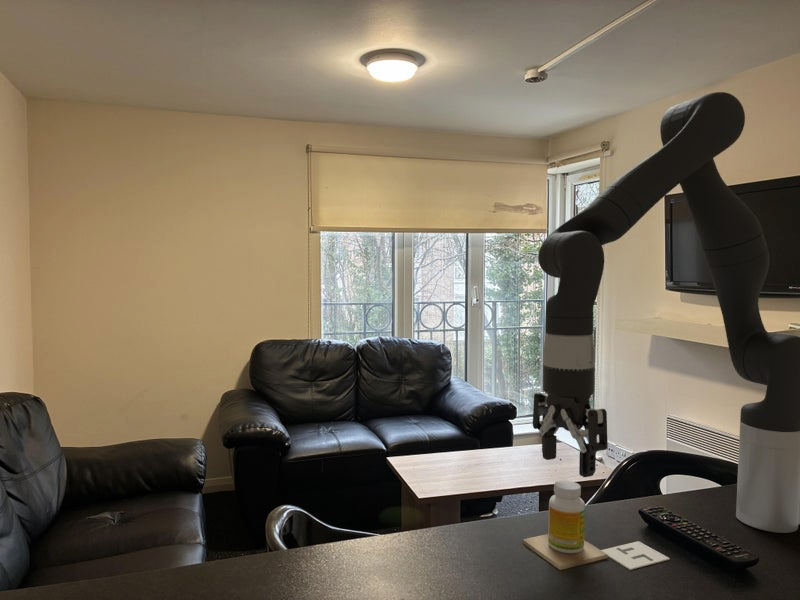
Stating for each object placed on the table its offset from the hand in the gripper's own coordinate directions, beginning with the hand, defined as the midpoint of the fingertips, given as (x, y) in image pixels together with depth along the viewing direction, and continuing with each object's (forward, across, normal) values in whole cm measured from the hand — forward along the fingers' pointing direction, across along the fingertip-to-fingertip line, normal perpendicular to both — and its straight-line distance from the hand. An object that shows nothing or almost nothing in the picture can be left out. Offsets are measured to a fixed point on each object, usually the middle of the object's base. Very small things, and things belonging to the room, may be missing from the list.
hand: (567, 466), depth 89 cm
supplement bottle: (+13, 0, 0) cm, 13 cm away
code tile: (+13, -6, -9) cm, 17 cm away
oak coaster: (+13, 0, 0) cm, 13 cm away
